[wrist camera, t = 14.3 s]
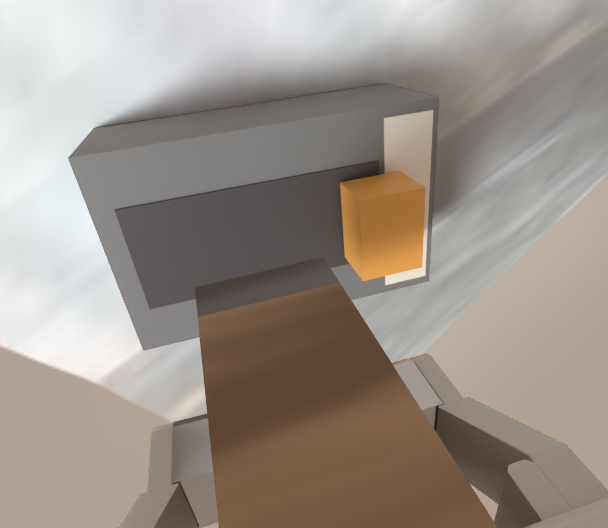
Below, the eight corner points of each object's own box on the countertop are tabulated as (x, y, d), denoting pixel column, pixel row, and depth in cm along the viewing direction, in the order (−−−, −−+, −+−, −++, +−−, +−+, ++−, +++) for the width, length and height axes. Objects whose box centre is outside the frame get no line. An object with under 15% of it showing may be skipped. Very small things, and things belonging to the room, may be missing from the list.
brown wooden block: (194, 286, 13) (248, 824, 4) (323, 256, 13) (586, 665, 5) (222, 381, 15) (293, 862, 6) (331, 351, 15) (526, 748, 7)
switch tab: (339, 182, 20) (359, 200, 18) (399, 170, 20) (425, 187, 18) (344, 256, 22) (362, 281, 20) (398, 244, 22) (422, 267, 20)
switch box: (93, 128, 22) (67, 158, 17) (384, 83, 24) (440, 97, 19) (149, 289, 27) (143, 351, 22) (385, 237, 29) (429, 281, 24)
